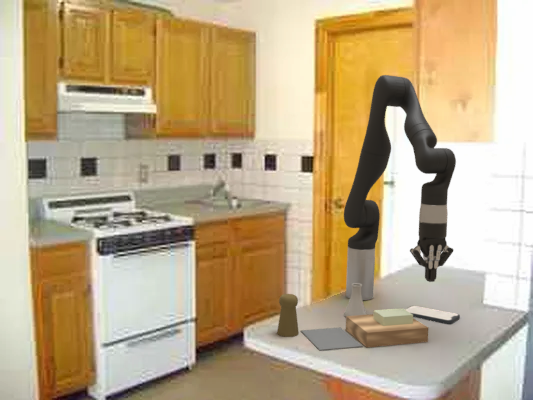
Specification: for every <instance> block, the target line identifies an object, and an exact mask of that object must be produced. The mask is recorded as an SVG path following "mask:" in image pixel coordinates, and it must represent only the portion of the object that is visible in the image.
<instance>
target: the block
mask: <svg viewBox="0 0 533 400" xmlns="http://www.w3.org/2000/svg"><path fill="white" fill-rule="evenodd" d="M372 314H373V319H374V320H375V321H377V322H378V323H380V324H381V325H382V326H388V325H401V324H413V318H414V317H413V314H411V313H409V312H408V311H406V310H404V308H403V307H401V308H389V309H387V308H386V309H375V310H373V313H372Z"/></svg>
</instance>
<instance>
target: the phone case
mask: <svg viewBox="0 0 533 400" xmlns="http://www.w3.org/2000/svg"><path fill="white" fill-rule="evenodd" d="M403 309H404V308H403ZM404 310H406V311H408V312H409V313H411V314H413V318H417V319H421V318H422V320H427V321H430V320H431V322H434V321H435V322H436V323H438V324H439V323H440V324H444V325H452V324H454V323H456V322H458V320H460V319H461V316H460V314H459V313H454V312H449V311H446V310H438V309H433V308H428V307H422V306H418V305H410V306H409V307H407V308H405V309H404Z"/></svg>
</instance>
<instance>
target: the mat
mask: <svg viewBox="0 0 533 400" xmlns="http://www.w3.org/2000/svg"><path fill="white" fill-rule="evenodd" d="M300 332H301V333H302V334H303V336H305V337H306V339H308V341H310V342H311V344H313V346H314V347H316V349H318V351H320V352H323V351H332V350H334V351H335V350H343V349H357V348H363V347H364V345H362V343H361V342H360V341H358V340H357V339H356V338H355V337H354V336H351V334H350V333H349V332H348V331H346V330H345V329H343V328H342V327H339V326H338V327H327V328H315V329H303V330H300Z"/></svg>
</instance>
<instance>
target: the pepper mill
mask: <svg viewBox="0 0 533 400" xmlns="http://www.w3.org/2000/svg"><path fill="white" fill-rule="evenodd" d="M278 303H279V305H280V312H279V318H278V325H277V335H278V336H280V337H285V338H293V337H297V336H298V335H299V333H300V332H299V323H298V315H297V306H298V303H299V299H298V296H297V295H296V294H293V293H283V294H282V295H280V296H279V299H278Z"/></svg>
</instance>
